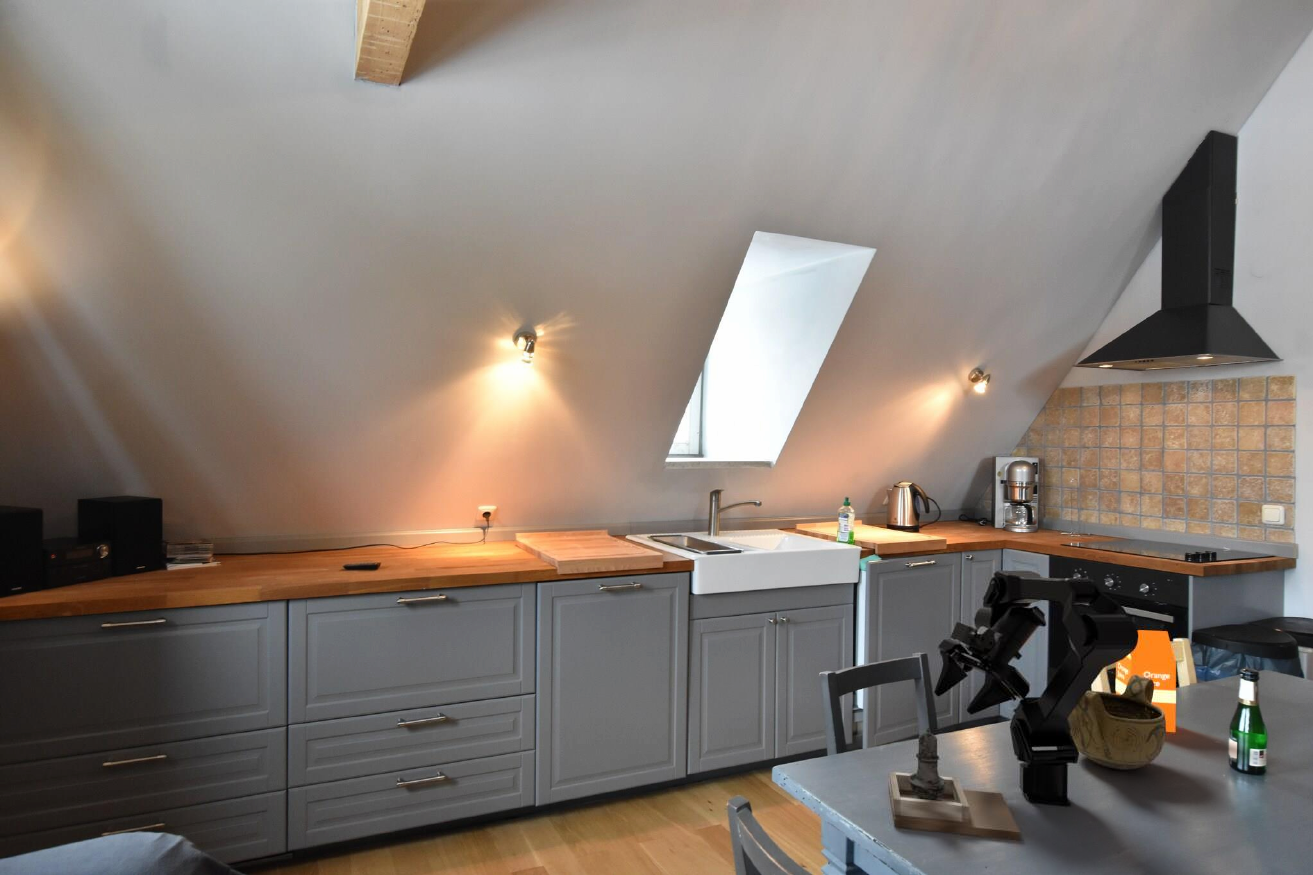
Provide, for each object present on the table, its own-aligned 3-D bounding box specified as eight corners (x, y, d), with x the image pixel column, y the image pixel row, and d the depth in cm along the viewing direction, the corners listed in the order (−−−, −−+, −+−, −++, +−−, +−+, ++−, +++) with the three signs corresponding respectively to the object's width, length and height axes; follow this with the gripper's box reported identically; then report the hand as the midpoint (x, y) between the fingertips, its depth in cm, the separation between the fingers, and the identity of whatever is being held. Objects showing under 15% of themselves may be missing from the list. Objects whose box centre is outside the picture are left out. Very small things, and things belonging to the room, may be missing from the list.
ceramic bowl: (1126, 793, 140) (1129, 705, 140) (1033, 758, 154) (1035, 678, 154) (1190, 766, 152) (1192, 685, 152) (1098, 736, 166) (1100, 662, 166)
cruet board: (1001, 800, 136) (1001, 778, 136) (1020, 840, 122) (1020, 815, 122) (888, 789, 140) (888, 768, 140) (894, 826, 126) (894, 803, 126)
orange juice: (1115, 717, 179) (1115, 625, 179) (1158, 720, 178) (1159, 627, 178) (1130, 729, 171) (1131, 633, 171) (1176, 732, 170) (1177, 635, 170)
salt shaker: (954, 808, 130) (955, 732, 130) (922, 812, 128) (923, 735, 128) (932, 793, 135) (932, 720, 136) (900, 797, 134) (901, 723, 134)
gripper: (948, 595, 154) (894, 657, 151) (1017, 619, 136) (957, 690, 133) (982, 635, 156) (930, 697, 153) (1055, 664, 138) (997, 734, 135)
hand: (951, 703), depth 144 cm, fingers open, 9 cm apart
